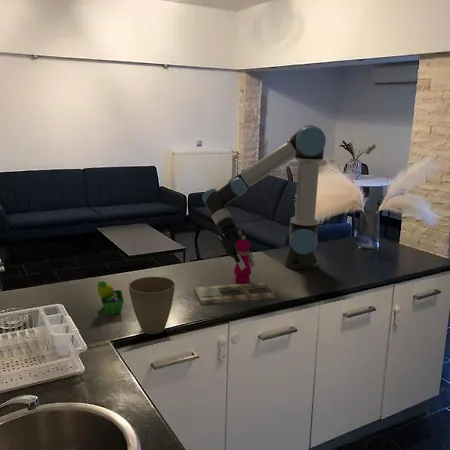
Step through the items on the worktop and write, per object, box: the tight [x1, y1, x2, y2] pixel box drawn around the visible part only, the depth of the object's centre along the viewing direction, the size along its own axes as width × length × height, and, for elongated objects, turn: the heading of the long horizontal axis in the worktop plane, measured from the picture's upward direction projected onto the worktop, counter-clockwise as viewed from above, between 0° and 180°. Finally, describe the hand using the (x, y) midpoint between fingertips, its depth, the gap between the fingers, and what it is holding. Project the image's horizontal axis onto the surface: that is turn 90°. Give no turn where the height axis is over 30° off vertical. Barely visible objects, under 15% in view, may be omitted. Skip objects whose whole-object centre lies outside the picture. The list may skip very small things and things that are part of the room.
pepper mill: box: [233, 236, 252, 284], centre depth 211 cm, size 7×7×20 cm
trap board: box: [193, 281, 278, 305], centre depth 198 cm, size 30×14×2 cm, turn 104°
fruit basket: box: [96, 280, 125, 316], centre depth 181 cm, size 11×9×11 cm
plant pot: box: [128, 276, 176, 335], centre depth 165 cm, size 15×15×16 cm
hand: (248, 267), depth 209 cm, fingers closed on pepper mill, 5 cm apart
